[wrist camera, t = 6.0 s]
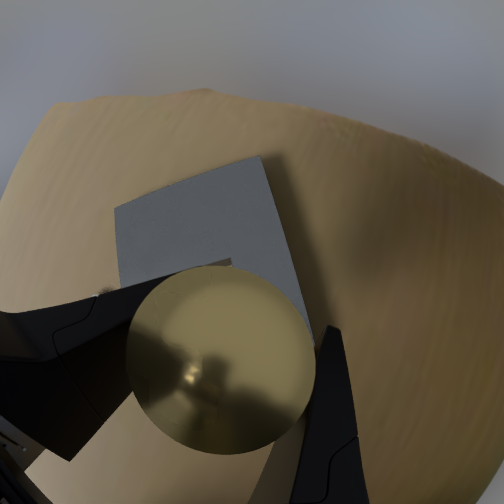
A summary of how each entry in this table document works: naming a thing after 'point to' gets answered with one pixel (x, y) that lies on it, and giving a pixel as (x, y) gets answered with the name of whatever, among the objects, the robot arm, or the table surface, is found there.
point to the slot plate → (208, 230)
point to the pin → (220, 360)
